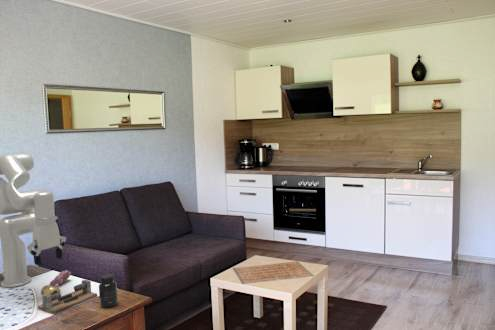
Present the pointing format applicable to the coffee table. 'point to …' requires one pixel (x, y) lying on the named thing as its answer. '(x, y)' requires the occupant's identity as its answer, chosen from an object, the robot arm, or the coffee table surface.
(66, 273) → the dusty red lumpy block
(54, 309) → the shaft bench
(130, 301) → the coffee table surface
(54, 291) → the coupling sleeve
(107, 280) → the supplement bottle
